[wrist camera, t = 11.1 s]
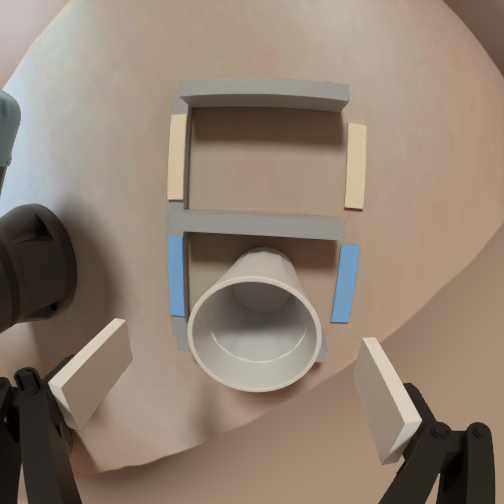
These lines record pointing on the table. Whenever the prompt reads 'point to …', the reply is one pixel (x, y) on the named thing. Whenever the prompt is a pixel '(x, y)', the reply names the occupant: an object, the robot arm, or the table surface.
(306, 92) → the parallel grey wall panels
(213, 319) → the cup
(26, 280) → the robot arm
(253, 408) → the table surface
